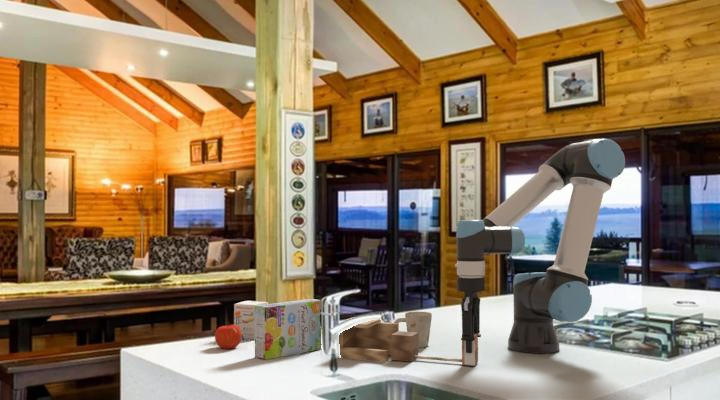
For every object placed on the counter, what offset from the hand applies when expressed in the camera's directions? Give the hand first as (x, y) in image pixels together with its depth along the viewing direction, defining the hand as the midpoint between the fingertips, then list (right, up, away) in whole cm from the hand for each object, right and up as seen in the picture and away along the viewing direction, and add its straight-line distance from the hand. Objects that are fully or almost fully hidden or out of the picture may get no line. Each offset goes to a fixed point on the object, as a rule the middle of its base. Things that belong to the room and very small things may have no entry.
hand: (471, 362), depth 174 cm
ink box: (-67, -2, +41) cm, 78 cm away
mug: (-14, -1, +27) cm, 30 cm away
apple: (-71, -1, +23) cm, 74 cm away
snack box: (-51, -1, +15) cm, 53 cm away
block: (-10, 0, +4) cm, 10 cm away
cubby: (-27, -1, +11) cm, 29 cm away
